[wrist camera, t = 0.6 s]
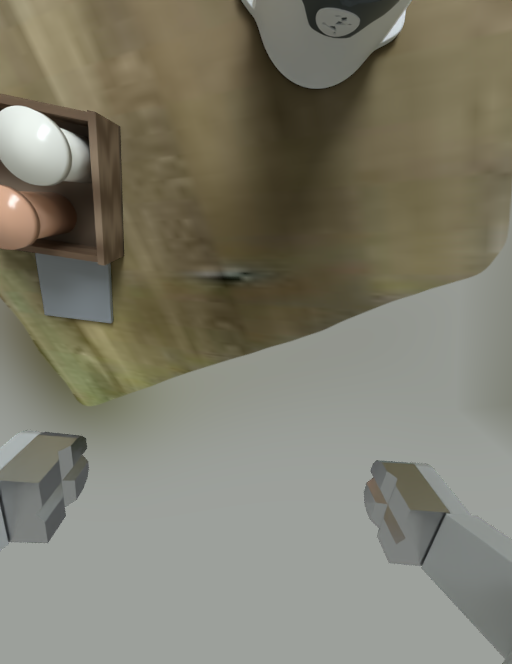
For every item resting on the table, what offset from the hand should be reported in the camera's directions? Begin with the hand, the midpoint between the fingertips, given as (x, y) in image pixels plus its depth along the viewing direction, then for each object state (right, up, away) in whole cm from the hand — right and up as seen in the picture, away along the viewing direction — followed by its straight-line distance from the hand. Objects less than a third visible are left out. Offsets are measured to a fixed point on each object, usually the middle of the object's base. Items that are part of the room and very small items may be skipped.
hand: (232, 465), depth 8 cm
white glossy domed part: (-21, +26, +28) cm, 43 cm away
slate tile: (-27, +11, +35) cm, 46 cm away
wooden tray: (-25, +23, +29) cm, 45 cm away
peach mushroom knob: (-26, +20, +30) cm, 45 cm away
